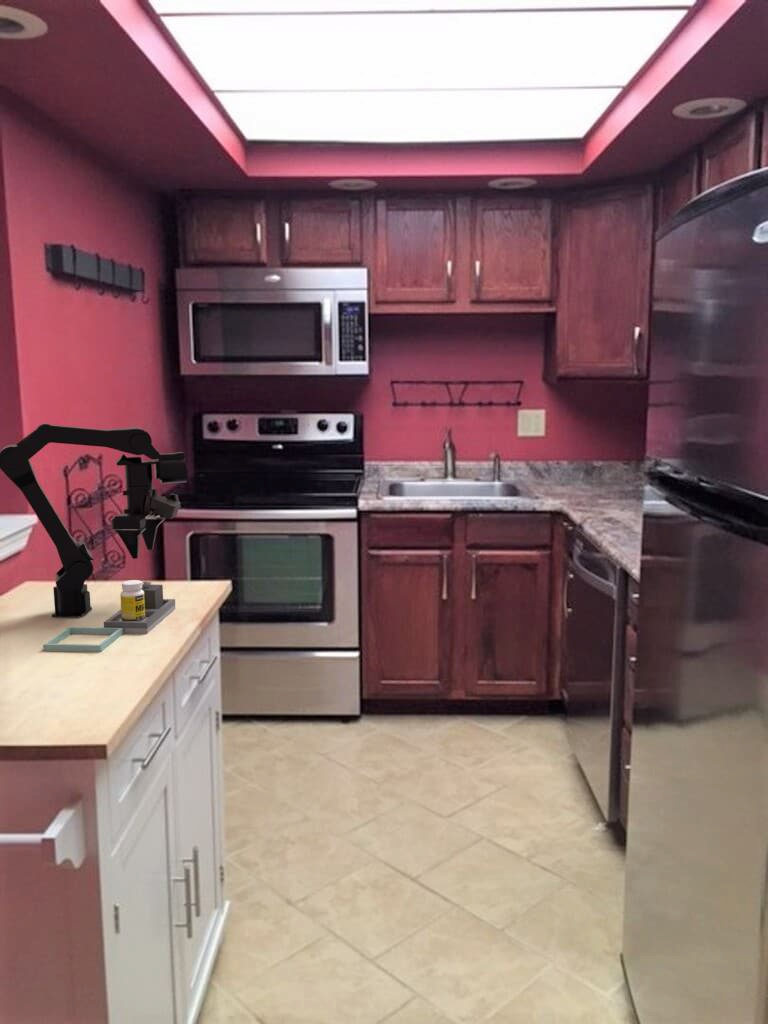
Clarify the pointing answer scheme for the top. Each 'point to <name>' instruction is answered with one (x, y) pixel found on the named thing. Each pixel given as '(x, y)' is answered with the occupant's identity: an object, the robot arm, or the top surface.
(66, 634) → the green square frame
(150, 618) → the grey socket tray
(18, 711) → the top surface
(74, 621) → the top surface
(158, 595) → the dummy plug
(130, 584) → the supplement bottle
